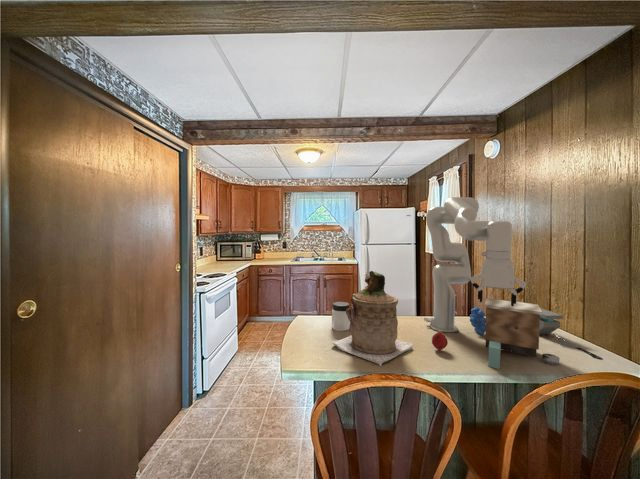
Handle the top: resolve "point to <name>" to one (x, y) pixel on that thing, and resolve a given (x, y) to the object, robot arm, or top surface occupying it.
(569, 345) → the cleaver
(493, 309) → the cabinet
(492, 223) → the robot arm
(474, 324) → the grapes
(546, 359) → the grey flat rounded lump
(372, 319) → the cookie jar
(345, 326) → the jar
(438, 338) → the onion
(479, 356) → the top surface
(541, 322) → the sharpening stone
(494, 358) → the sage green block
